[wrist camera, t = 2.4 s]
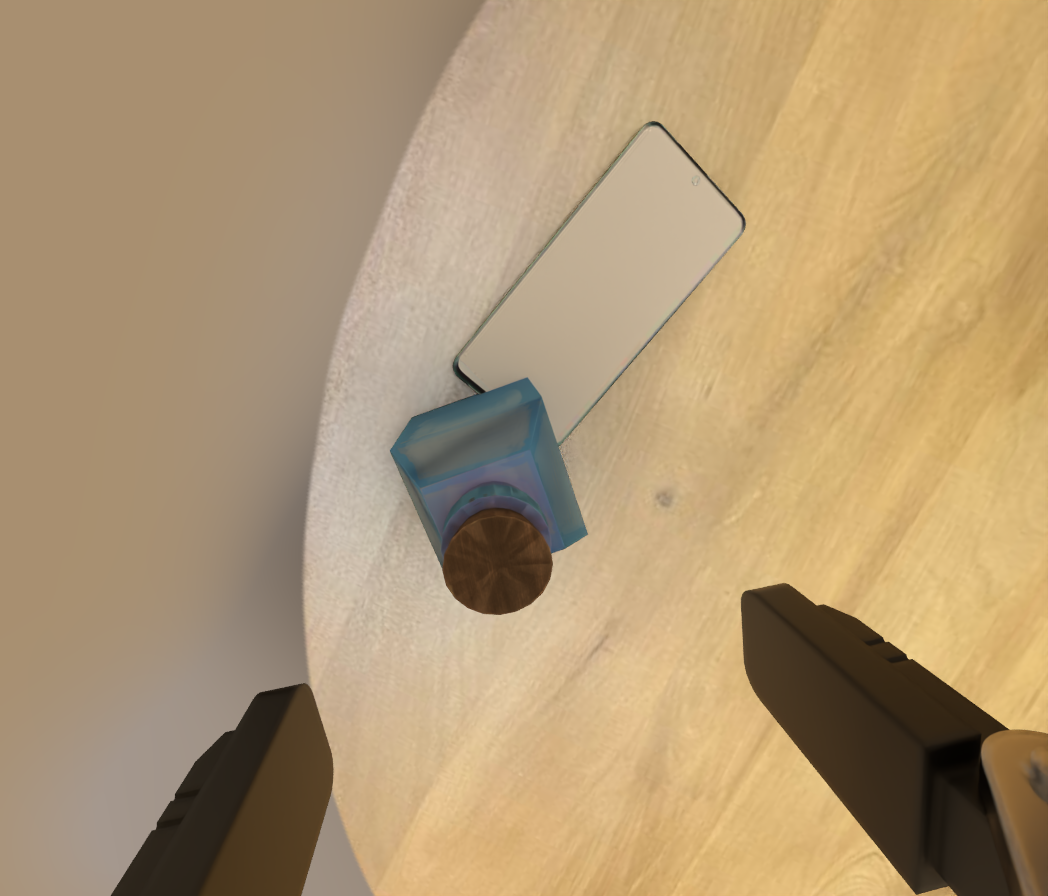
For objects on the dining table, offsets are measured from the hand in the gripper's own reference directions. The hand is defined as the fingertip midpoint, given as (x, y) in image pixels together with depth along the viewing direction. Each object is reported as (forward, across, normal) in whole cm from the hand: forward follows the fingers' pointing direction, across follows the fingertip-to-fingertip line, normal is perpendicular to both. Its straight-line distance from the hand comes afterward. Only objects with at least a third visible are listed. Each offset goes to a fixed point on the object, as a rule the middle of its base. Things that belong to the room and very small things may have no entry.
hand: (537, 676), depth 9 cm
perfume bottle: (+17, 0, 0) cm, 17 cm away
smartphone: (+17, -7, -7) cm, 20 cm away
